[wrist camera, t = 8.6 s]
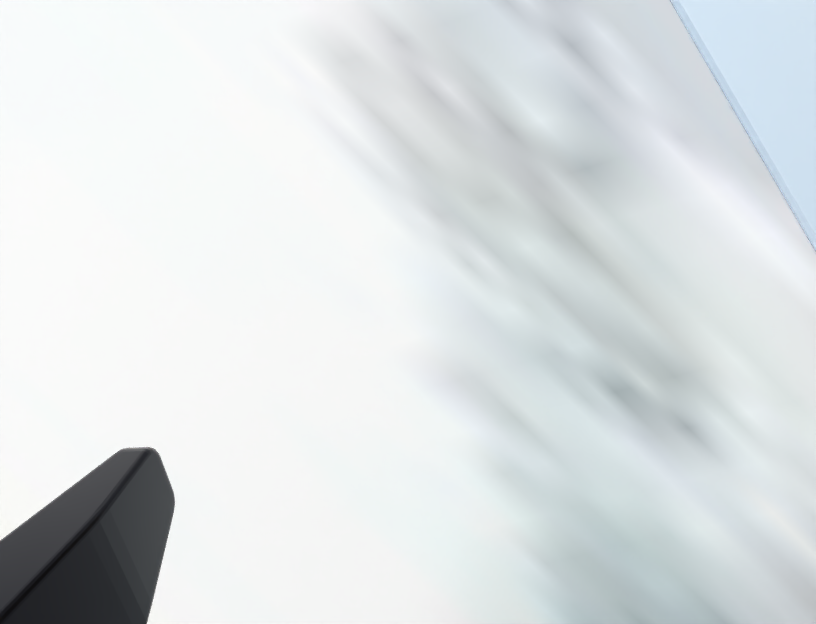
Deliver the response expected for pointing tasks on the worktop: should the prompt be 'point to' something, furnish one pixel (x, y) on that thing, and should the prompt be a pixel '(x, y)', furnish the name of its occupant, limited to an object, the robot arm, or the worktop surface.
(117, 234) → the worktop surface
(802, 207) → the pale blue tile
